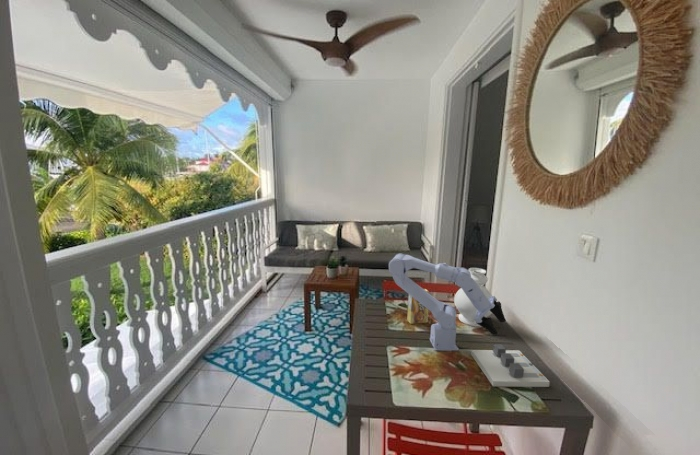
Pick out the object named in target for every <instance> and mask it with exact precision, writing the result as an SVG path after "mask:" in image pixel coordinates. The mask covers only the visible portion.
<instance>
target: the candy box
mask: <svg viewBox="0 0 700 455" xmlns="http://www.w3.org/2000/svg"><path fill="white" fill-rule="evenodd" d="M423 289H424V290H425V291H426V292H428V293H429V294H430V293H431V292H430V291H429V290H428V289H426V288H423ZM430 295H431V294H430ZM407 298H408V300H407V301H408V302H407V316H406V317H407V322H409V324H412V325H414V324H423V323H428V319H429V310H428V309H427V308H426V307H425V306H423V305H422V304H421V303H420V302H418V301H417V300H416V299H414V298H413V297H412V296H411V295H409V294H408V297H407Z"/></svg>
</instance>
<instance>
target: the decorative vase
mask: <svg viewBox="0 0 700 455" xmlns="http://www.w3.org/2000/svg"><path fill="white" fill-rule="evenodd" d="M467 270H468V271H469V272H470V274H471V278H473V280H474V281H475V282H476V283H477V284H478V286H479V287H480V289H481V290H482V291H483V293H484V294H485V295H486V297H487V298H488V299H489V298H490V297H492V296H493V295H492V293H491V292H490V291H489V289H488V288H487V287H486V286H485V284H487V283H488V280H489V279H488V277H487V276H486V273H487V270H486V269H484V268H481V267H480V268H479V267H470V268H468V269H467ZM453 302H454V305H455V306H454V307H456V310H458V312H459V314H458V320H459V322H461V323H463V324H465V325H467V326H472V327H478V328H479V327H482V326H480V325H478V324H477V323H476V321H475V320H474V318H475V316H476V313H477V309H476V308H475V306H474V305H473V304H472V302H471V301H470V299H469V298H468V297H467V295H466V294H465V293H464V291H463V289H462V288H461V287H459V289H458V290H457V291H456V293H455V295H454V298H453ZM491 314H493V313H492V312H491V311H490V310H489V311H488V312H487V313H486V315H485V317H486V318H489V316H490V315H491Z"/></svg>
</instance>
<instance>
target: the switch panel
mask: <svg viewBox="0 0 700 455" xmlns="http://www.w3.org/2000/svg"><path fill="white" fill-rule="evenodd" d="M506 353H510V354H511V355H512V356H513V358H514V363H519V364H520V365H521V366H522V368H523V369H524V373H523V377H513V375H512V374H511V373H510V372H509V367H510V366H504V364H503V363H502V362H501V357H499V356H496V355H495V353H494V352H493V349H472V350H471V353H470V354H471V356H472V358H473V360H475V362H476V363H477V365H478V367H479V369H481V371H482V372H483V374H484V376H486V378H487V380H488V381H489V383H490V384H491V386H492V387H506V388H507V387H514V388H515V387H517V388H519V387H520V388H522V387H523V388H525V387H527V388H528V387H529V388H530V387H531V388H532V387H533V388H550V380H549V379H547V377H546V376H545V375H544V374H543V373H542V372H541V371H540V370H539V369H538V368H537V367H536V365H534V364H533V363H532V362H531V361H530V360H529V359H528V358H527V357H526V356H525V355H524V354H523V353H522V351H520V349H519V350H518V349H515V350H514V349H513V350H511V349H506Z"/></svg>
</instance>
